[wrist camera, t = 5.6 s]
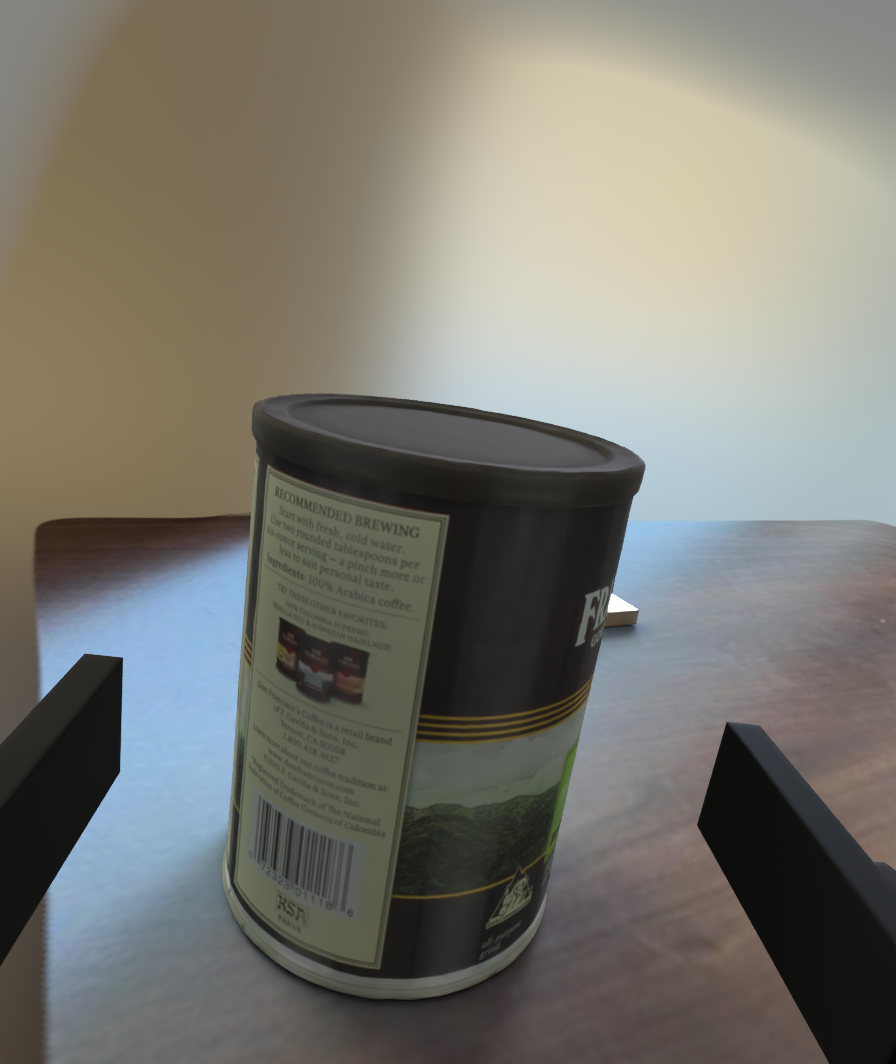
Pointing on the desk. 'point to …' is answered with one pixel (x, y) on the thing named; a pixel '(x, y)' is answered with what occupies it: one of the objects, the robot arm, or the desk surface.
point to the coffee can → (413, 682)
